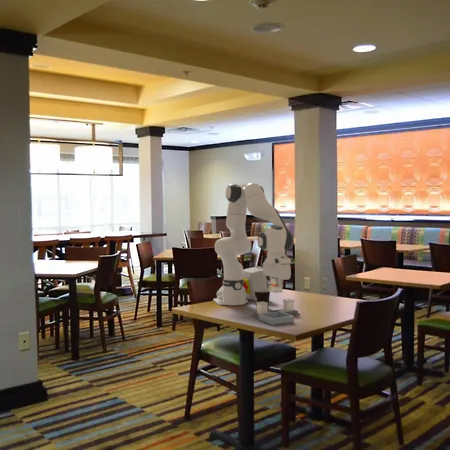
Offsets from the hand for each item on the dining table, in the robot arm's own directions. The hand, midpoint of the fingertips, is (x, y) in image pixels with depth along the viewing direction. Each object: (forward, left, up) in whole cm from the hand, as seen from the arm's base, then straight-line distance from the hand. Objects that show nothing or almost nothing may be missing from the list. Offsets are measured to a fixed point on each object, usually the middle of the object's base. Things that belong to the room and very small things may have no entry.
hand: (276, 286), depth 261 cm
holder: (-12, +7, -18) cm, 22 cm away
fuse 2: (-12, +15, -17) cm, 25 cm away
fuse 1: (-12, -1, -17) cm, 21 cm away
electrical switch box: (-58, +18, -18) cm, 63 cm away
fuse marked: (0, 0, -3) cm, 3 cm away
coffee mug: (-32, +11, -18) cm, 38 cm away
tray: (0, 0, -18) cm, 18 cm away
